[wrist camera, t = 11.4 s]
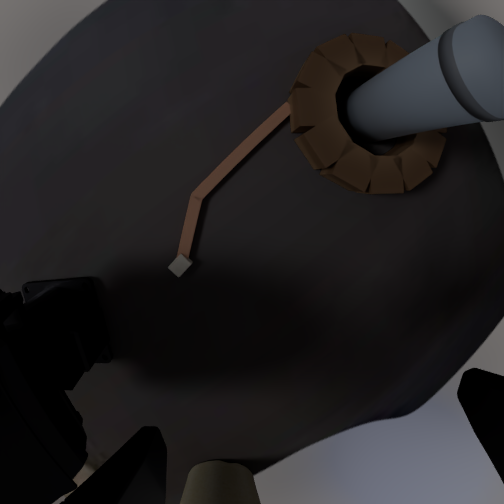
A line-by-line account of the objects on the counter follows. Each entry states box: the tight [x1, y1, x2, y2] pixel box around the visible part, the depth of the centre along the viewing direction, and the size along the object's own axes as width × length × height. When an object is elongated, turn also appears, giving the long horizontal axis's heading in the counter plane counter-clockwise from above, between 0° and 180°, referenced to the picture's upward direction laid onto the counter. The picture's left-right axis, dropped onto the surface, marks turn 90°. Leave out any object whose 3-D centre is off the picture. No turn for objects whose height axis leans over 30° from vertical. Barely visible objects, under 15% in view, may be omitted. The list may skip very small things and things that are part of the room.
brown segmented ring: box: [288, 33, 447, 194], centre depth 17 cm, size 10×10×2 cm
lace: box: [168, 102, 291, 278], centre depth 18 cm, size 12×3×1 cm, turn 135°
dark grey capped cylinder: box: [339, 15, 504, 143], centre depth 12 cm, size 4×4×12 cm
